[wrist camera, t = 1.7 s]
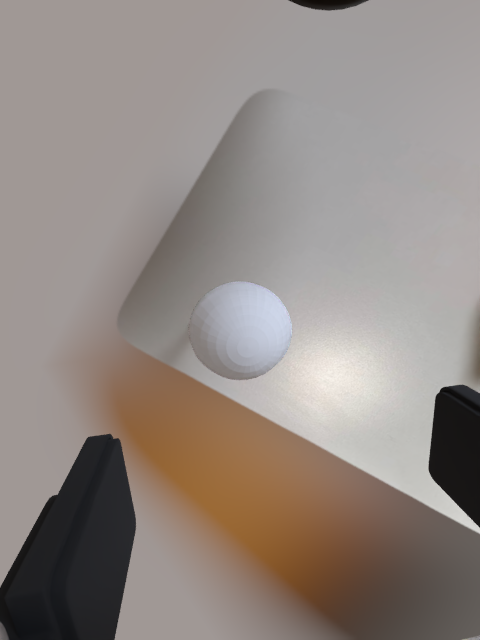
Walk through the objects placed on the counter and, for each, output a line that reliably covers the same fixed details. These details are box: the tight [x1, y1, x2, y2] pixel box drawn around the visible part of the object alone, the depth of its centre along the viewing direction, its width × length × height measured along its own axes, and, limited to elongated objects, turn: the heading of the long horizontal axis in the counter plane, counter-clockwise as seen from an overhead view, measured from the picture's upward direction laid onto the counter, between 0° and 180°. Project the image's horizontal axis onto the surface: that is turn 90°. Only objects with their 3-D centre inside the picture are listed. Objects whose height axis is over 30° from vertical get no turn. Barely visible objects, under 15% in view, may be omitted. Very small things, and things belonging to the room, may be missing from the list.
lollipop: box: [189, 281, 292, 380], centre depth 24 cm, size 6×6×15 cm
